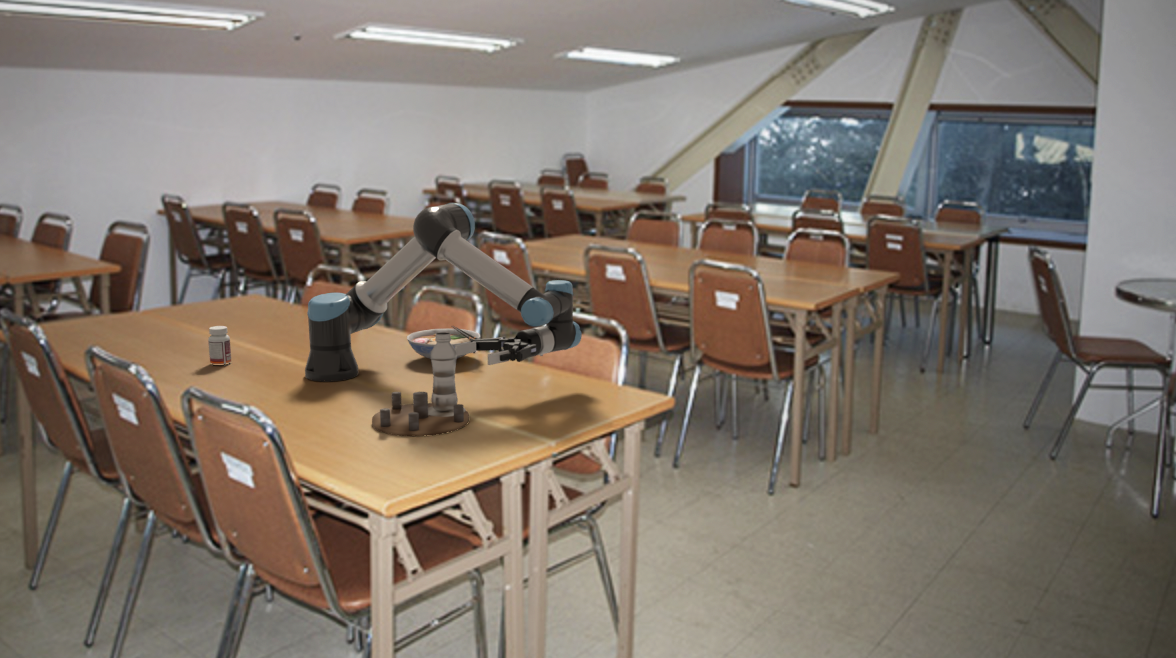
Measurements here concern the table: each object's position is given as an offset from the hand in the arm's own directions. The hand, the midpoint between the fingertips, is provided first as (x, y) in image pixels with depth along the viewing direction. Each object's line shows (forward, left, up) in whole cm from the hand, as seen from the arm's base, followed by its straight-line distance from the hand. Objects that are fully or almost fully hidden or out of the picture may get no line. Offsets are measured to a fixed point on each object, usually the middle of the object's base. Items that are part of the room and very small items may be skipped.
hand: (471, 355), depth 264 cm
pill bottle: (-82, +45, -14) cm, 95 cm away
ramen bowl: (-15, +52, -14) cm, 56 cm away
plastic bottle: (-6, -6, -13) cm, 16 cm away
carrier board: (-12, -12, -14) cm, 22 cm away
